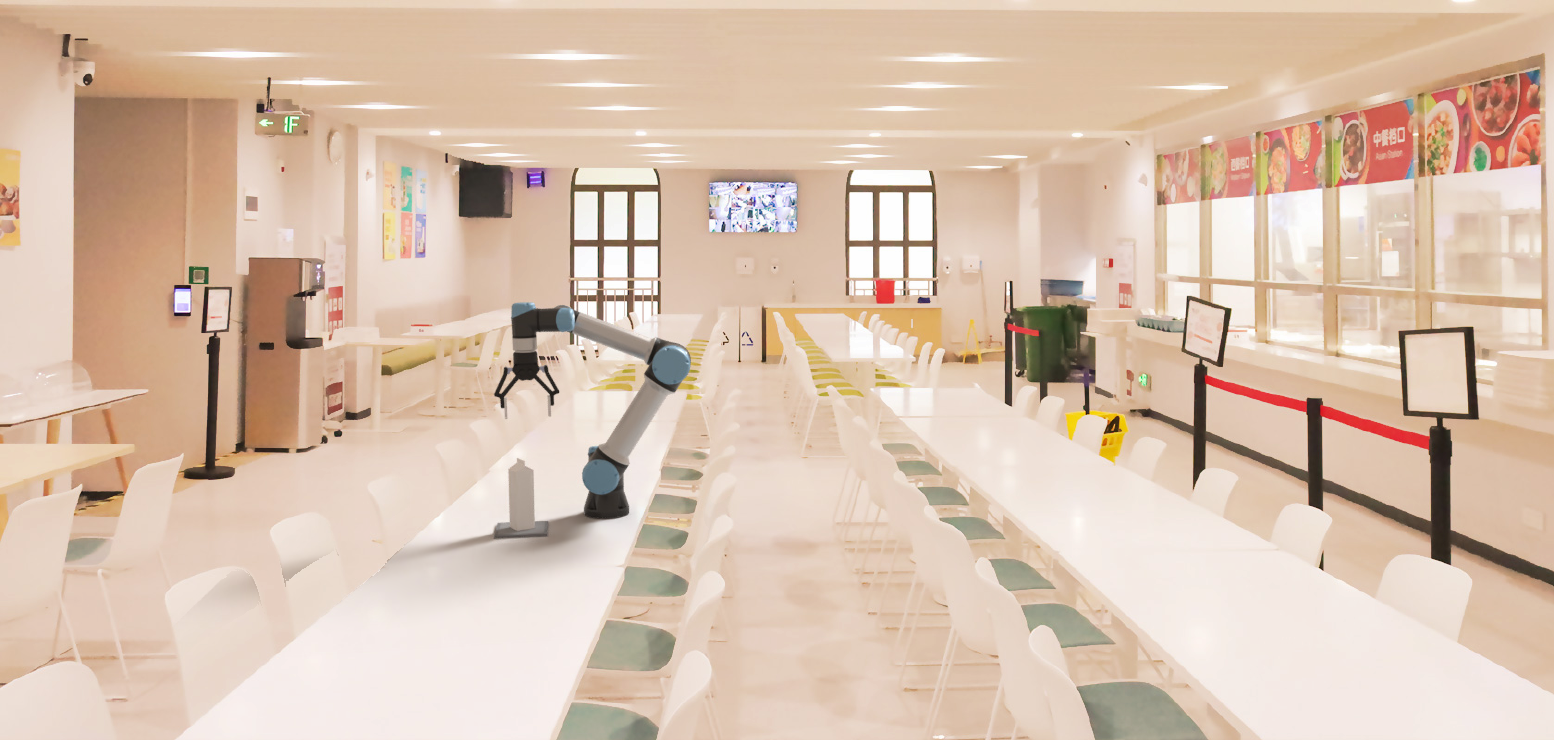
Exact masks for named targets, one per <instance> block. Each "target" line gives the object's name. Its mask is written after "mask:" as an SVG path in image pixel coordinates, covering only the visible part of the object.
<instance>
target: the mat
mask: <svg viewBox="0 0 1554 740" xmlns="http://www.w3.org/2000/svg"><path fill="white" fill-rule="evenodd" d="M548 531H549V520H535V528H534V529H527V530H521V531H516V530H514V529H512V528H511V527H510V521H508V522H497V524H496V528H495V531H494V534H493V535H494V536H493V539H512V538H513V539H515V538H535V537H536V538H537V537H548V534H549V532H548Z"/></svg>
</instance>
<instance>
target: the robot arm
mask: <svg viewBox="0 0 1554 740" xmlns="http://www.w3.org/2000/svg"><path fill="white" fill-rule="evenodd" d="M510 316H511V317H510V319H511V336H512V337H511V338H512V340H511V341H512V350H513V354H512V361H513V366H512V367H507V366H504V367H503V373H502V376H501V378H500V380H499V382H498V384H497V387H496V389H495V391H494V393H493V395H494V397H495V398H499V401H500V403H499V404H500V409H504V420H508V406H507V405H508V404H507V403H508V402H507V397H506V396H507V394H508V393H509V392H510V390H511V389H512V388H513V387H514V386H515V384H516V383H517V382H518V381H522V382H523V381H532V380H535V381H536V382H537V383H538V384H539V385H540V386H541V387H542V389H544V390H545V392H546V393H548V394H547V412H548V413H547V414H548V418H549V417H552V407H553V406H554V405H555V395H558V394H560V390H559V387H558V386H557V384H556V382H555V381H554V379H553V377H552V376H551V373H550V372H549V366H548V364H544V365H542V366H541V365H540V366H539V363H538V362H539V361H538V352H537V349H538V339H537V338H538V337H537V333H555V332H558V333H560V332H561V333H565V332H566V333H570V334H573V335H576V336H579V337H581V338H584V339H586V340H589V341H592V342H594V343H597V344H600V345H602V346H605V347H608V348H611V349H614V350H615V351H618V352H620V353H624V354H626V355H629V356H632V357H634V358H636V359H640V360H642V361H644V363H645V365H646V366H648V367H647V368H646V370H645V371H644V373H643V378H644V381H643V383H642V385H641V387H640V388H639V389H638V392H637V393H636V394H635V396H634V397H633V399H632V401H630V404H629V405H628V407H627V408H626V410H625V412H624V413H623V415H622V417H621V418H620V420H619V421H618V423H617V425H616V426H615V427H614V429H613V431H612V433H611V434H610V436H609V437H608V439H606V442H605V443H600V444H598V445H594V446H590V447H588V452H587V456H588V461H587V463H586V464H585V465H584V467H583V469H582V472H581V474H582V476H581V477H582V478H581V479H582V483H583V486H585V488H586V489H587V490H588V494H587V497H586V500H585V503H584V506H583V515H584V516H586V517H587V518H593V519H616V518H621V517H625V516H626V515H629V514H630V504H629V501H628V499H627V496H626V493H625V488H624V487H625V486H624V485H625V482H624V481H625V479H624V477H625V475H624V474H625V472H626V470H627V469H628V467H629V466H630V464H631V463H630V459H629V457H630V455H631V454H632V452H633V451H634V449H635V447H636V446H637V445H638V443H639V441H640V439H642V436H643V435H644V433H645V432H646V430H647V429H648V427H649V425H650V424H651V422H652V420H653V419H654V417H655V416H656V414H657V413H658V411H659V410H660V408H661V406H662V405H663V403H664V402H665V400H666V399H667V397H668V396H669V395H673V394H675V393H676V391H677V390H678V389H679V388H680V385H681V384H682V382H683V380H685V379H686V378H687V376H688V375H689V373H690V369H691V363H692V362H691V361H692V359H691V358H692V357H691V355H690V352H689V350H688V349H687V347H686V346H684V345H682V344H680V343H677V342H673V341H669V340H666V339H662V338H659V337H657V336H655V337H653V338H650V337H648V336H645V335H642V334H640V333H637V332H634V331H632V330H630V329H626V328H623V327H621V326H618V325H616V324H613V323H610V322H608V321H605V320H602V319H599V318H597V317H594V316H592V315H589V314H586V313H583V312H581V311H577V310H575V309H574V308H571V307H569V306H567V305H565V304H562V305H561V304H560V305H557V306H555V307H552V308H551V307H549V308H538V307H537V306H536V304H535V303H534V302H533V301H532V302H526V301H523V302H514V303H512V304H511V315H510ZM540 371H541V372H542V373H544V374H545V376H546V378H547V381H549V383H550V385H551V387H552V388H553V390H552V389H551V388H550V387H549V386H548V384H546V383H545V382H544V381H543V380H542V379H541V378H540V376H538V374H539V372H540ZM511 372H512V373H513V374H514V375H515V376H514V377H513V378H512V380H511V381H510V382H509V383H508V384H507V386H506V387H505V388H504V390H503V391H502V392H501V390H502V387H503V386H504V384H505V381H506V379H507V377H508V375H510V374H511Z"/></svg>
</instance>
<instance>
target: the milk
mask: <svg viewBox="0 0 1554 740" xmlns="http://www.w3.org/2000/svg"><path fill="white" fill-rule="evenodd" d="M525 462H526V461H525V460H523V459H521V458H518V457H517V458H516V463H514V464H512V466H510V467H509V468H508V472H507V473H508V505H509V506H508V508H509V511H508V513H509V515H508V516H509V522H510V527H511V528H512V529H514V530H516V531H521V530H527V529H534V528H535V521H536V517H535V511H536V510H535V474H534V472H535V471H534V468H531V467H528V466H527V465H526V463H525Z"/></svg>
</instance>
